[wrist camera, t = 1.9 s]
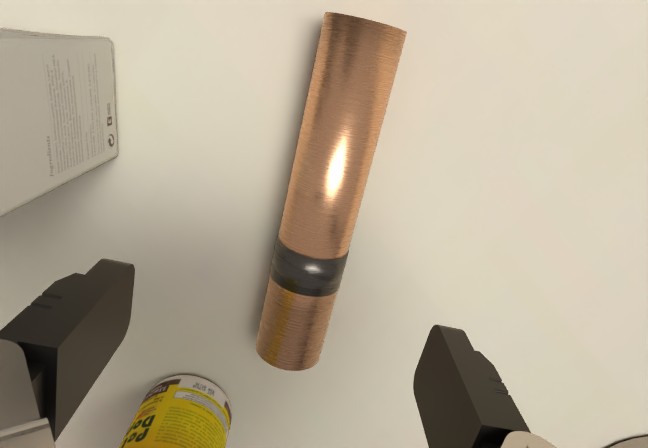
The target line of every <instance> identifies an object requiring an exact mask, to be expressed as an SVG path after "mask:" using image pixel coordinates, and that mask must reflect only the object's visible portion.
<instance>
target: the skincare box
mask: <svg viewBox="0 0 648 448" xmlns="http://www.w3.org/2000/svg"><path fill="white" fill-rule="evenodd" d="M117 154H118V148H117V130H116V111H115V82H114V61H113V44H112V41H111V40H110V39H109V38H105V37H98V36H72V35H60V34H49V33H38V32H30V31H22V30H13V29H6V28H0V217H1V216H3V215H5V214H7V213H9V212H11V211H13V210H15V209H17V208H18V207H20V206H22V205H24V204H26V203H28V202H30V201H32V200H34V199H36V198H38V197H40V196H42V195H44V194H46V193H47V192H49V191H51V190H53V189H55V188H57V187H59V186H61V185H63V184H65V183H67V182H69V181H71V180H72V179H74V178H76V177H78V176H80V175H82V174H84V173H86V172H88V171H90V170H92V169H93V168H95V167H97V166H99V165H101V164H103V163H105V162H107V161H109V160H111V159H112V158H115V157H116V156H117Z"/></svg>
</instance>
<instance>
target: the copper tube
mask: <svg viewBox="0 0 648 448" xmlns="http://www.w3.org/2000/svg"><path fill="white" fill-rule="evenodd" d="M406 33H407V32H405V31H403V30H401V29H398V28H395V27H392V26H389V25H386V24H382V23H379V22H375V21H371V20H367V19H363V18H359V17H354V16H349V15H344V14H339V13H331V12H325V15H324V20H323V25H322V29H321V34H320V39H319V44H318V49H317V53H316V58H315V63H314V68H313V72H312V77H311V82H310V87H309V92H308V96H307V101H306V106H305V111H304V116H303V120H302V125H301V130H300V135H299V139H298V144H297V149H296V154H295V159H294V163H293V168H292V173H291V178H290V183H289V187H288V192H287V197H286V202H285V207H284V211H283V216H282V221H281V226H280V230H279V234H278V235H277V240H276V245H275V250H274V254H273V259H272V264H271V269H270V278H269V283H268V288H267V293H266V297H265V302H264V307H263V312H262V317H261V321H260V326H259V331H258V336H257V341H256V350H257V352H258V354H259V355H260V357H261V358H262V359H263V360H264V361H266V362H267V363H269V364H270V365H272V366H275V367H277V368H280V369H284V370H291V371H299V370H305V369H308V368H310V367H312V366H314V365H315V364H316V363H317V362H318V360H319V357H320V353H321V349H322V346H323V342H324V338H325V335H326V331H327V327H328V323H329V320H330V316H331V312H332V309H333V305H334V301H335V297H336V294H337V291H338V289H339V286H340V283H341V279H342V275H343V271H344V268H345V264H346V260H347V257H348V253H349V250H348V249H349V245H350V242H351V238H352V234H353V231H354V227H355V223H356V219H357V216H358V212H359V208H360V204H361V201H362V197H363V193H364V190H365V186H366V182H367V178H368V175H369V171H370V167H371V164H372V160H373V156H374V152H375V149H376V145H377V141H378V138H379V134H380V130H381V126H382V123H383V119H384V115H385V112H386V108H387V104H388V100H389V97H390V93H391V89H392V86H393V82H394V78H395V74H396V71H397V67H398V63H399V60H400V56H401V52H402V48H403V45H404V41H405V37H406Z"/></svg>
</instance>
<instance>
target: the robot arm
mask: <svg viewBox="0 0 648 448" xmlns="http://www.w3.org/2000/svg"><path fill="white" fill-rule="evenodd" d="M134 275H135V268H134V265H133V264H129V263H124V262H119V261H113V260H108V259H101V260H100V261H99V262H98V263H97V264H96V265H95V266H94V267H93V268H92V269H91V270H89V271H88V272H87V273H86V274H85V275H83V274H77V273H74V274H72V275H70V276H67V277H65V278H63V279H60V280H58V281H55V282H54V283H53V284H52V285H51V286H50V287H49V288H48V289H47V290H45V291H44V292H43V293H42V296H39V297H38V298H36V299H35V300H34V301H33V302H32V303H31V306H27V307H26V308H25V309H24V310H23V311H22V312H21V313H20V314H18V315H17V316H16V317H15V318H14V319H13V320H12V321H11V322H10V323H8V324H7V325H6V326H5V327H4V328H3V329H2V330H1V331H0V448H56V447H55V444H54V442H55V441H56V440H57V438H58V437H59V435H60V434H61V432H62V431H63V429H64V428H65V426H66V425H67V423H68V422H69V420H70V419H71V417H72V416H73V414H74V413H75V411H76V410H77V408H78V407H79V405H80V404H81V402H82V401H83V399H84V398H85V396H86V395H87V393H88V392H89V390H90V389H91V387H92V386H93V384H94V383H95V381H96V380H97V378H98V377H99V375H100V374H101V372H102V371H103V369H104V368H105V366H106V365H107V363H108V362H109V360H110V359H111V357H112V356H113V354H114V353H115V351H116V350H117V348H118V347H119V345H120V344H121V342H122V340H123V339H124V337H125V334H126V332H127V329H128V326H129V322H130V317H131V307H132V296H133V286H134ZM501 381H502V380H501V378H500V376H499V374H498V372H497V371H496V369H495V367H494V365H493V364H492V363H491V362H490V361H489V360H488V359H487V358H485V357H484V356H483V355H482V354H481V353H480V352H479V351H474V349H473V347H472V345H471V343H470V341H469V339H468V337H467V335H466V334H465V332H464V331H463V330H461V329H456V328H451V327H446V326H441V325H434V326H433V327H432V329H431V331H430V333H429V336H428V338H427V341H426V344H425V347H424V349H423V352H422V355H421V357H420V360H419V363H418V365H417V368H416V371H415V375H414V384H413V388H414V395H415V399H416V402H417V406H418V410H419V413H420V417H421V420H422V424H423V428H424V431H425V435H426V438H427V442H428V446H429V448H556V447H555V446H554V445H552V444H551V443H550V442H548V441H547V440H545V439H543V438H541V437H539V436H537V435H535V434H532V433H531V432H530V430H529V428H528V427H527V425H526V423H525V421H524V419H523V418H522V416H521V414H520V412H519V410H518V409H517V407H516V405H515V403H514V401H513V399H512V398H511V396H510V395H508V390H507V389H506V387H505V385H504V383H502V382H501ZM610 448H648V436H647V437H640V438H634V439H631V440H627V441H624V442H620V443H618V444H616V445H614V446H612V447H610Z"/></svg>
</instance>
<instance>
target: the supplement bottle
mask: <svg viewBox="0 0 648 448" xmlns="http://www.w3.org/2000/svg"><path fill="white" fill-rule="evenodd" d="M231 418H232V411H231V406H230V403H229V400H228V398H227V396H226V395H225V394H224V392H223V391H222V390H221V389H220V388H219V387H218V386H216V385H215V384H213V383H212V382H210V381H208V380H206V379H203V378H200V377H197V376H191V375H178V376H173V377H169V378H166V379H164V380H162V381H160V382H159V383H157V384H156V385H155V386H154V387H153V388H152V389H151V390H150V391H149V392H148V394H147V395H146V397H145V399H144V401H143V402H142V404H141V406H140V408H139V410H138V412H137V414H136V416H135V418H134V420H133V422H132V424H131V426H130V428H129V429H128V431H127V433H126V435H125V437H124V439H123V441H122V443H121V445H120V447H119V448H225V444H226V440H227V437H228V433H229V429H230V424H231Z"/></svg>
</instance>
